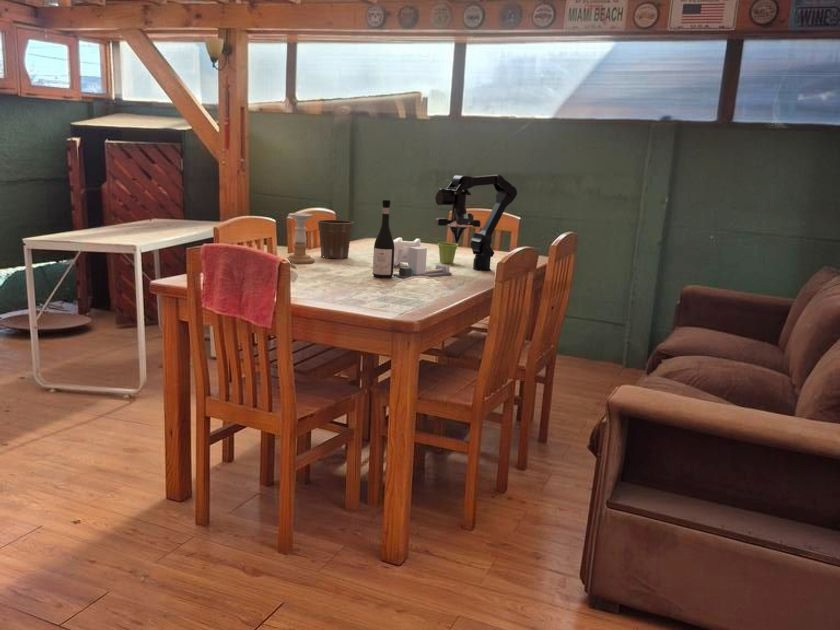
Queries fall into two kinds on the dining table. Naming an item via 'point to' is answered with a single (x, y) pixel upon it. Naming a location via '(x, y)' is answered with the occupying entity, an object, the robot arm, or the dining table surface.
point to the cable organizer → (403, 250)
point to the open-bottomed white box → (417, 259)
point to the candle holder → (300, 239)
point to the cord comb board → (438, 271)
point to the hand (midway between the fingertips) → (456, 242)
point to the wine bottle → (384, 247)
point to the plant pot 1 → (335, 237)
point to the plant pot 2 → (447, 252)
